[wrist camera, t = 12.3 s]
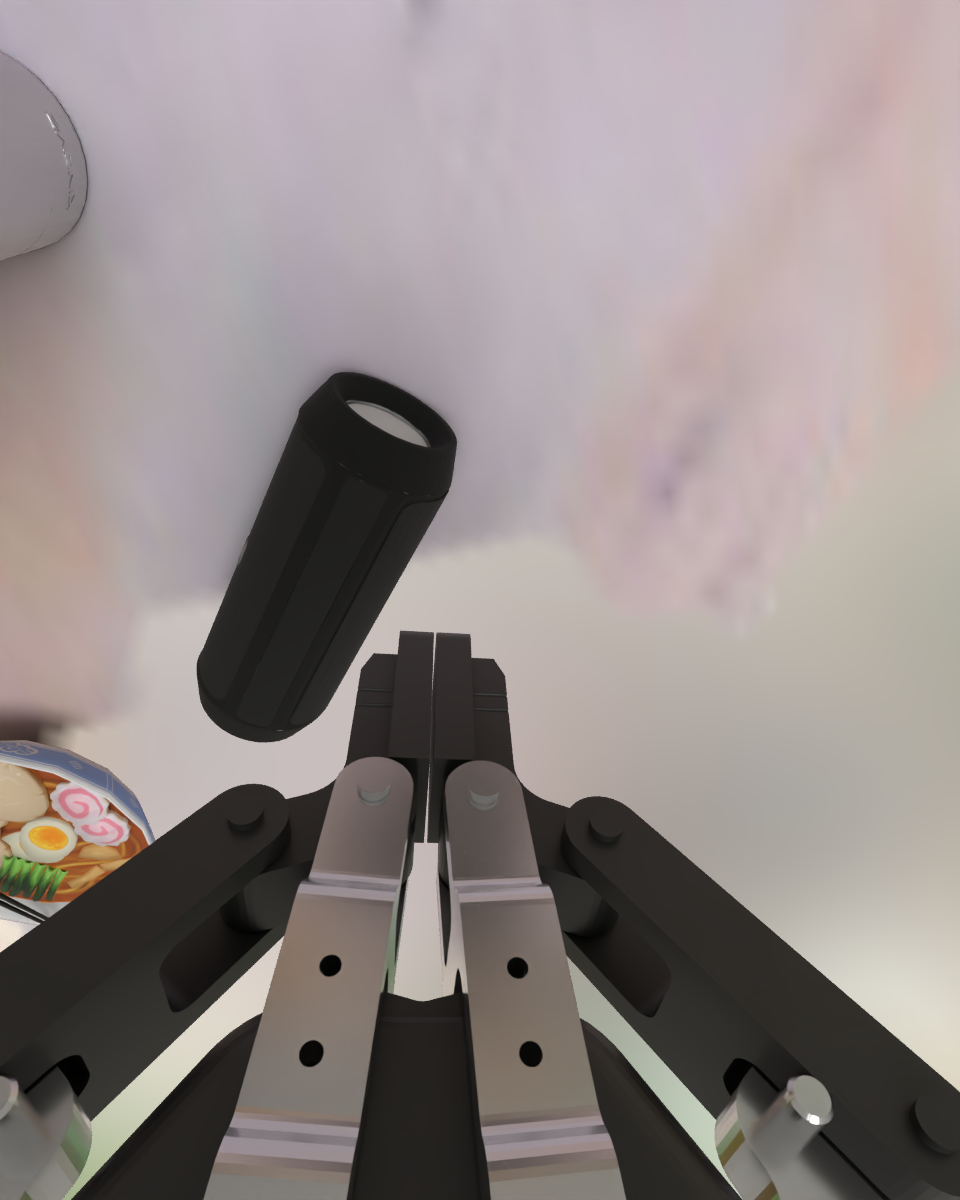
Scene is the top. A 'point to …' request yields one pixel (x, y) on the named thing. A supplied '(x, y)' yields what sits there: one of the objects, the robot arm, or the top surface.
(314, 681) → the portable speaker
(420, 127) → the top surface
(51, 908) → the ramen bowl
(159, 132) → the top surface
